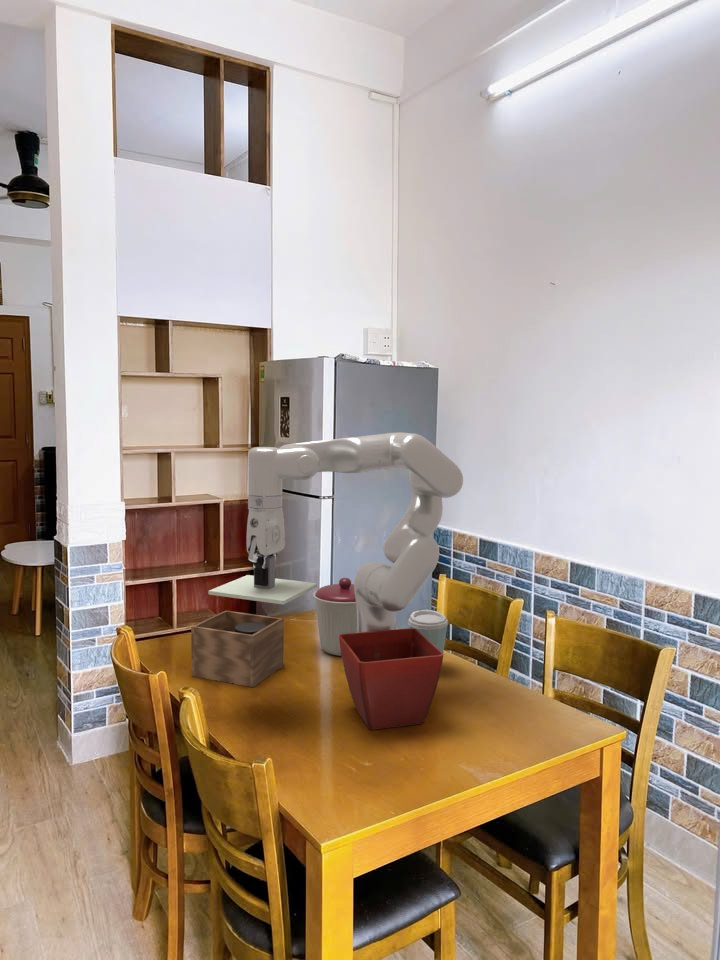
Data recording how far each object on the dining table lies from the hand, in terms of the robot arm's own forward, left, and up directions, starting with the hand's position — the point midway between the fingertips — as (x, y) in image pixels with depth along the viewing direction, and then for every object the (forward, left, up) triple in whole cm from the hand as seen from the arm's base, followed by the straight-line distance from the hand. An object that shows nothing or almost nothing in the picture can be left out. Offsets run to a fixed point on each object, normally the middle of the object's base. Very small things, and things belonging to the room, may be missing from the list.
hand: (264, 582), depth 163 cm
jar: (+15, -19, -30) cm, 38 cm away
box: (+18, -18, -30) cm, 39 cm away
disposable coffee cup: (-27, -39, -30) cm, 56 cm away
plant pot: (-27, -8, -30) cm, 41 cm away
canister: (-1, -44, -30) cm, 53 cm away
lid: (0, 0, -2) cm, 2 cm away
